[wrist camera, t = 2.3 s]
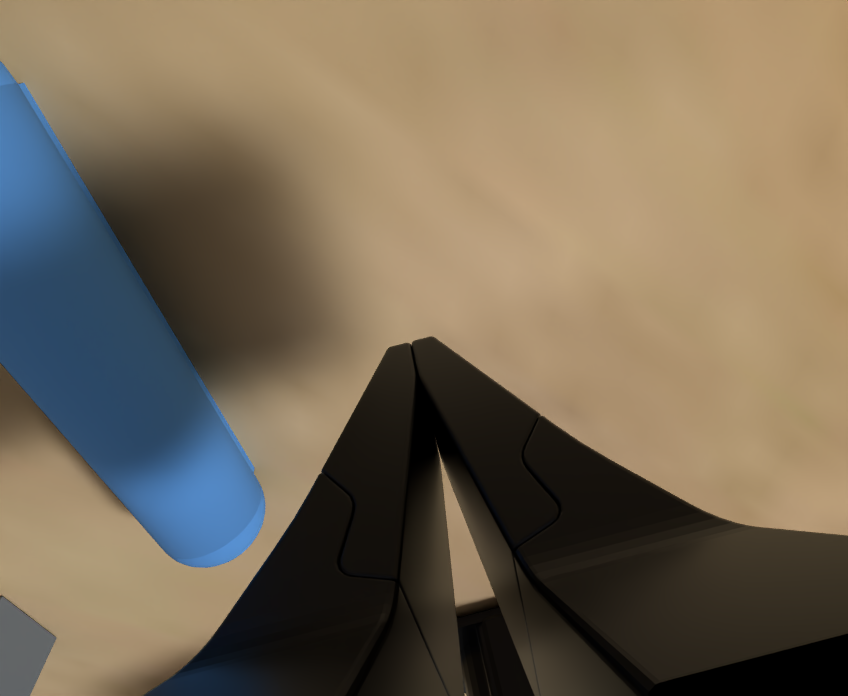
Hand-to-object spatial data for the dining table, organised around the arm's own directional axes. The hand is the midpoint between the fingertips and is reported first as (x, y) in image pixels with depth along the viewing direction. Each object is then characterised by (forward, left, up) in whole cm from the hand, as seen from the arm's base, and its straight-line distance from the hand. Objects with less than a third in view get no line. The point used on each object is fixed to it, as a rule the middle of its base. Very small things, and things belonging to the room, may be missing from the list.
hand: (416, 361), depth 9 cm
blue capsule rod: (0, +7, -4) cm, 8 cm away
